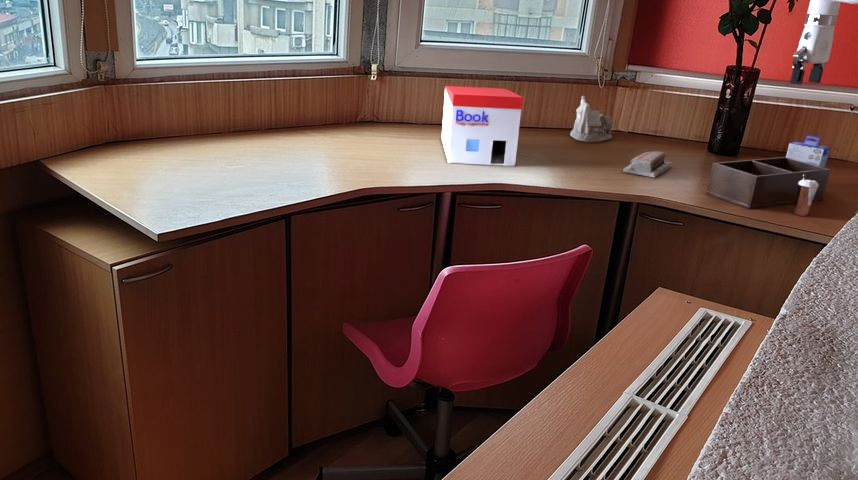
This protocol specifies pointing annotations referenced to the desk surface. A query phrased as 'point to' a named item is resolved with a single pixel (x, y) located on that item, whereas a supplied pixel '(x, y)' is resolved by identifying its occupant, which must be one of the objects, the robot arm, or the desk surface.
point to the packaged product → (648, 164)
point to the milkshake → (805, 196)
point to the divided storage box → (764, 181)
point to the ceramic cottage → (591, 124)
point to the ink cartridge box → (809, 152)
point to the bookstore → (481, 125)
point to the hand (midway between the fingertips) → (804, 83)
